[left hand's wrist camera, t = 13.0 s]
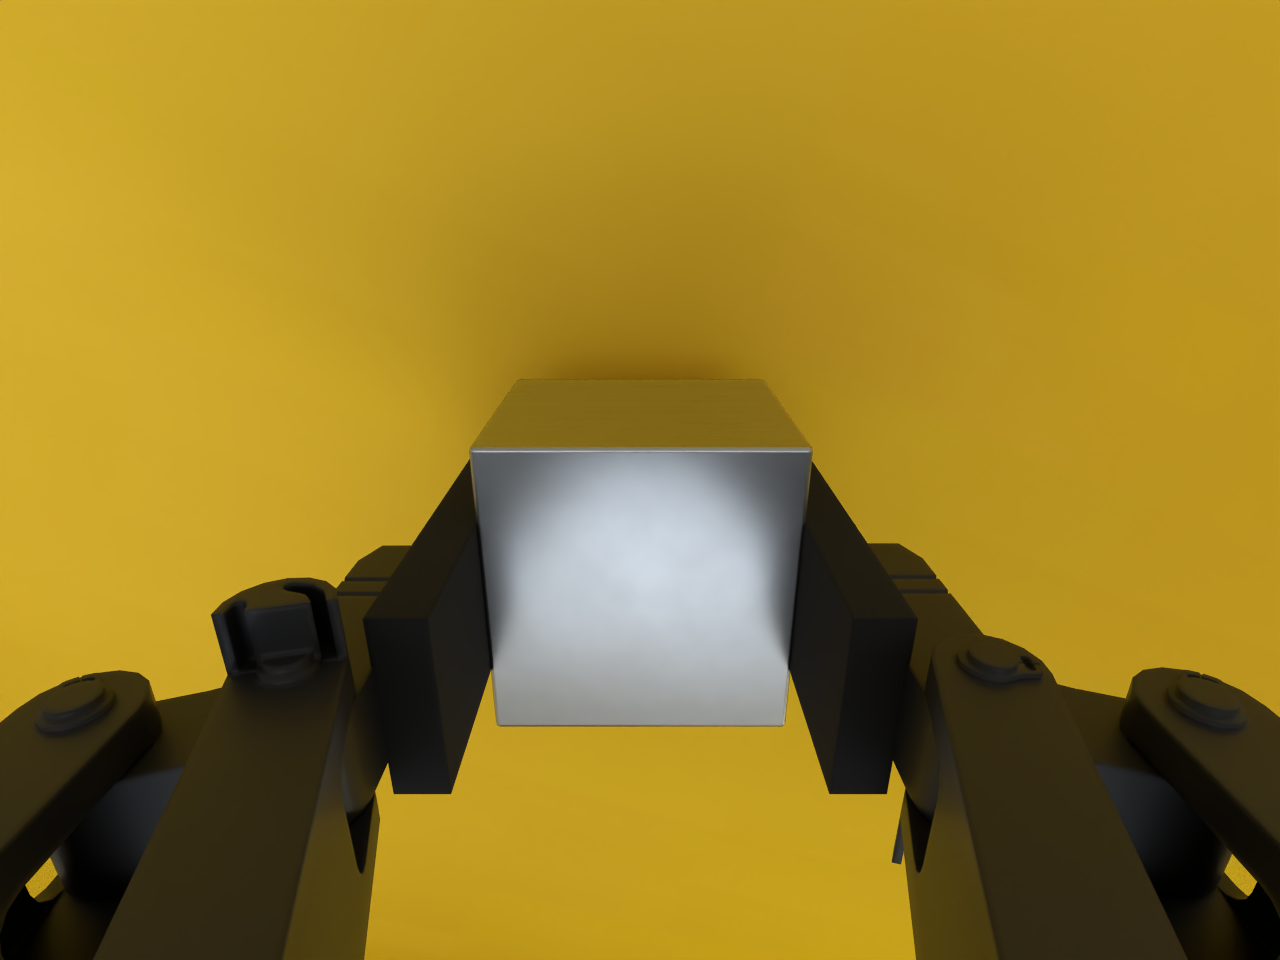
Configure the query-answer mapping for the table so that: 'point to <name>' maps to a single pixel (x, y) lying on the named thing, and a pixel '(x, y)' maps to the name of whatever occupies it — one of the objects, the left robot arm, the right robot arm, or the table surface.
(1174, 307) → the table surface
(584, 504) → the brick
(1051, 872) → the left robot arm
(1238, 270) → the table surface
